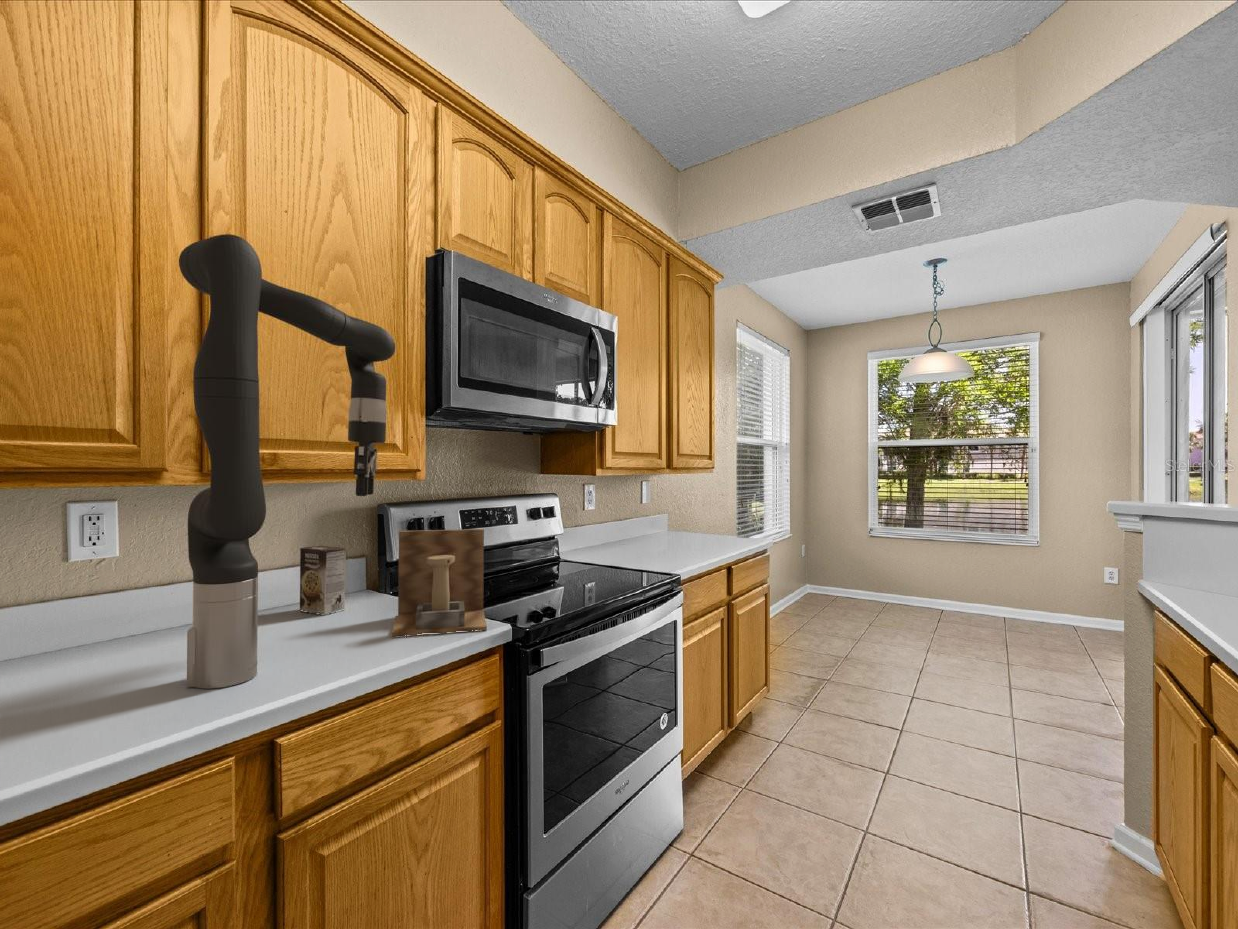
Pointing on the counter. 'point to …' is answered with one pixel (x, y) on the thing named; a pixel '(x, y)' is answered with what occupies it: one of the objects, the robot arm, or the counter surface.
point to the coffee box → (322, 579)
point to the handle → (440, 581)
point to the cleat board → (419, 582)
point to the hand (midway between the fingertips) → (364, 495)
